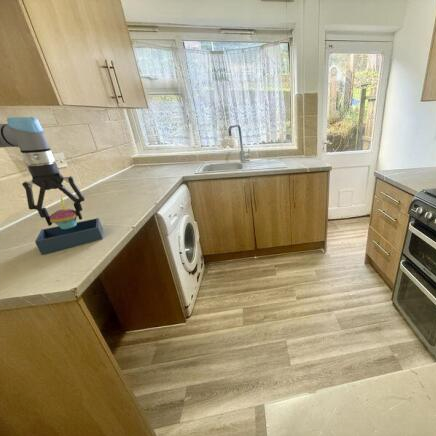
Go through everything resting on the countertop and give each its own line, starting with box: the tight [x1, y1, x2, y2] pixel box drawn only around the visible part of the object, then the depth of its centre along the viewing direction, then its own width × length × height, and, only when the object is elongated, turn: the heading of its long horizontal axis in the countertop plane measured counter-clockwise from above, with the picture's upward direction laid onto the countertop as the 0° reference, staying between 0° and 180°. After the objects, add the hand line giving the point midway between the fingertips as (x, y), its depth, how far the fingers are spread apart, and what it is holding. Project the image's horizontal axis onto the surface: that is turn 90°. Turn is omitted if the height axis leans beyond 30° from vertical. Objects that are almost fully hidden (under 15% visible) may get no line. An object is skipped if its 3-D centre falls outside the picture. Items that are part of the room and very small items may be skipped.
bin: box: [34, 217, 104, 255], centre depth 98 cm, size 19×13×6 cm
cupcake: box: [49, 196, 78, 229], centre depth 94 cm, size 9×8×12 cm
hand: (66, 221), depth 96 cm, fingers closed on cupcake, 8 cm apart
